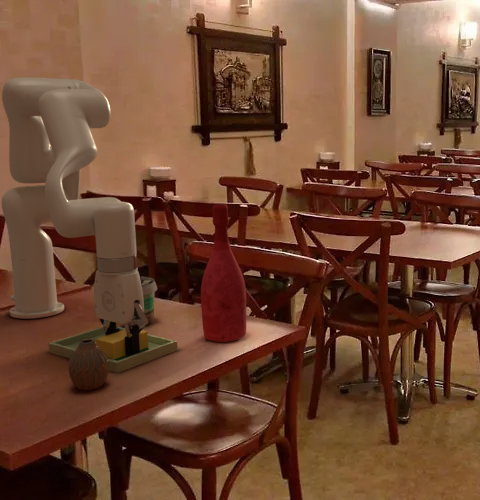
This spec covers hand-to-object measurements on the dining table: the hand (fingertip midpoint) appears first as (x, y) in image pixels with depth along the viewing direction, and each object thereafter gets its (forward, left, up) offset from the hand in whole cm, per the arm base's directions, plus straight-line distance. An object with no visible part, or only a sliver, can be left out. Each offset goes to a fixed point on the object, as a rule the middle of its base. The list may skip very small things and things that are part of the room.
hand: (123, 350), depth 144 cm
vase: (+7, -13, -2) cm, 15 cm away
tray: (-5, +2, -2) cm, 6 cm away
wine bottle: (+8, +22, -2) cm, 23 cm away
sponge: (0, 0, -1) cm, 1 cm away
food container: (-15, +19, -2) cm, 24 cm away
